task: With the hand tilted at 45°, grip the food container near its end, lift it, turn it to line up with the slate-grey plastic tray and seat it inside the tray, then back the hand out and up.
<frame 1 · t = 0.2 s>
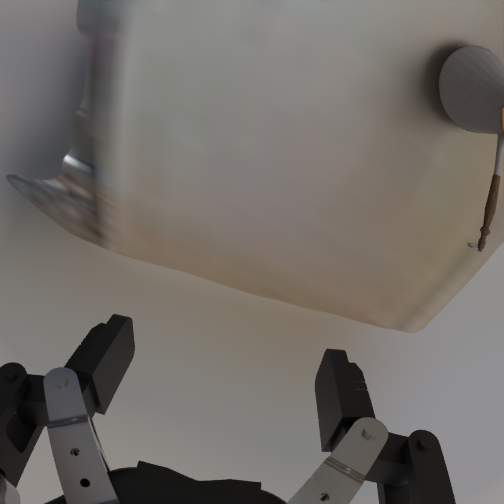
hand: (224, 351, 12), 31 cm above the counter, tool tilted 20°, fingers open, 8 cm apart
coffee pot: (458, 116, 31), on the counter
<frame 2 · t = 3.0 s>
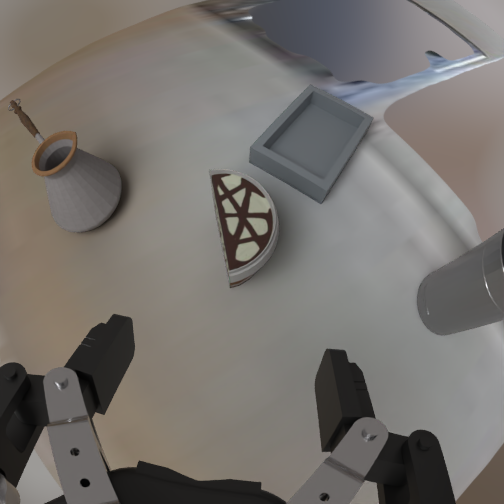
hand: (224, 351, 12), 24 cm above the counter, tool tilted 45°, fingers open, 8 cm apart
food container: (246, 248, 40), on the counter
tray: (313, 144, 46), on the counter
coffee pot: (76, 187, 43), on the counter
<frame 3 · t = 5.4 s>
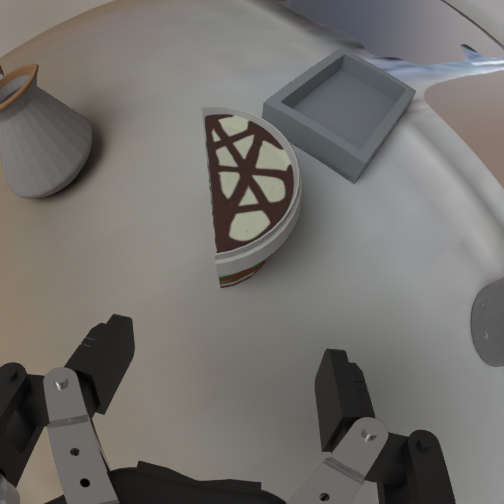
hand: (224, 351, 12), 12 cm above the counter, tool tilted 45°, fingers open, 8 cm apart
food container: (249, 233, 28), on the counter
tray: (344, 113, 35), on the counter
coffee pot: (44, 147, 31), on the counter
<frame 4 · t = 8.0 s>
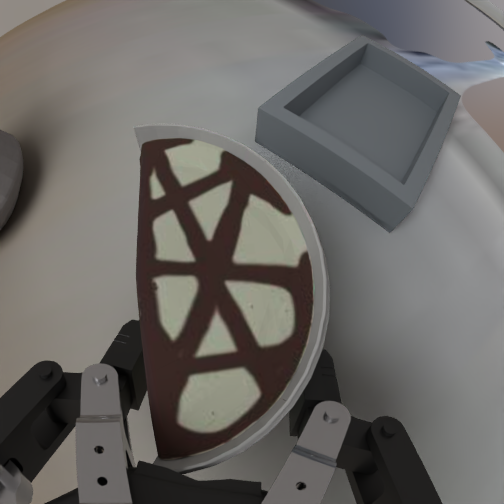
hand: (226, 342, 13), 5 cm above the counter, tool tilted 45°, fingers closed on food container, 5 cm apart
food container: (234, 321, 18), on the counter, touching gripper
tray: (370, 123, 25), on the counter
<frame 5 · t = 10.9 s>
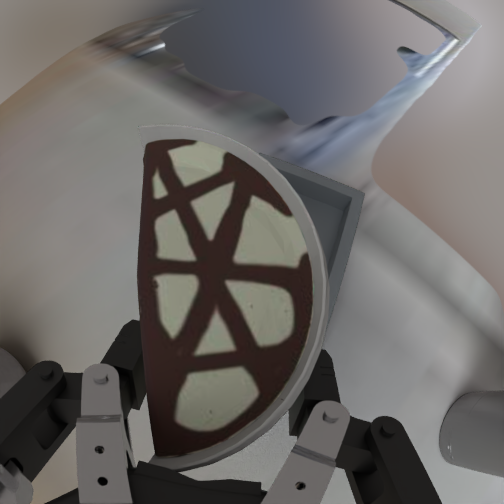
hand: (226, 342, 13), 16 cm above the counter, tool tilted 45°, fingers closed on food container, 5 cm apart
food container: (235, 322, 18), point 11 cm above the counter, touching gripper
tray: (280, 258, 32), on the counter
when the fingers open (7 cm above the counter, at t = 14.0 s): food container drops 1 cm, resting on tray.
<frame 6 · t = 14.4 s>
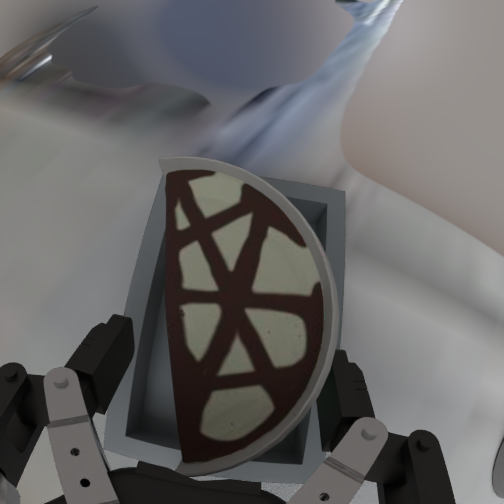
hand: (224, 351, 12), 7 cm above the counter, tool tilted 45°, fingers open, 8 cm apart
food container: (253, 332, 19), point 1 cm above the counter, touching gripper, tray
tray: (233, 325, 20), on the counter
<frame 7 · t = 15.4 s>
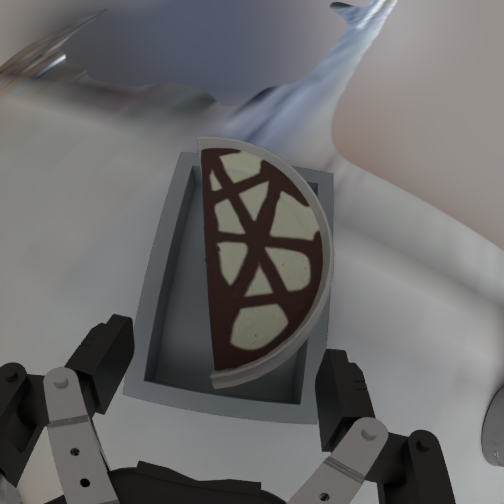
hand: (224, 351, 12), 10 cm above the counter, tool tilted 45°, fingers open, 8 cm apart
food container: (255, 293, 23), resting on tray
tray: (238, 287, 23), on the counter
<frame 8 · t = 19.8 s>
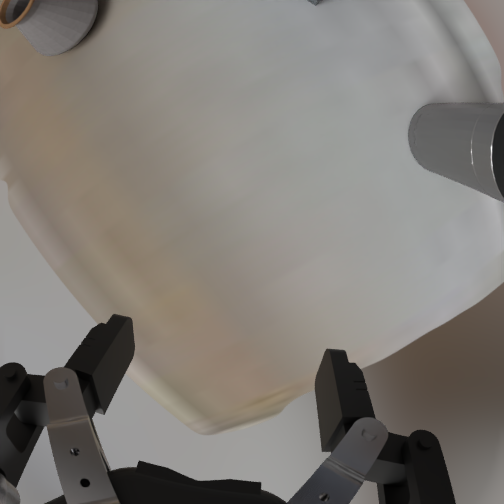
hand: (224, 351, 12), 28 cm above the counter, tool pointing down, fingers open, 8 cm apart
coffee pot: (57, 10, 28), on the counter
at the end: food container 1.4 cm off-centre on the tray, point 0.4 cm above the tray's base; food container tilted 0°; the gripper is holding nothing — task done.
